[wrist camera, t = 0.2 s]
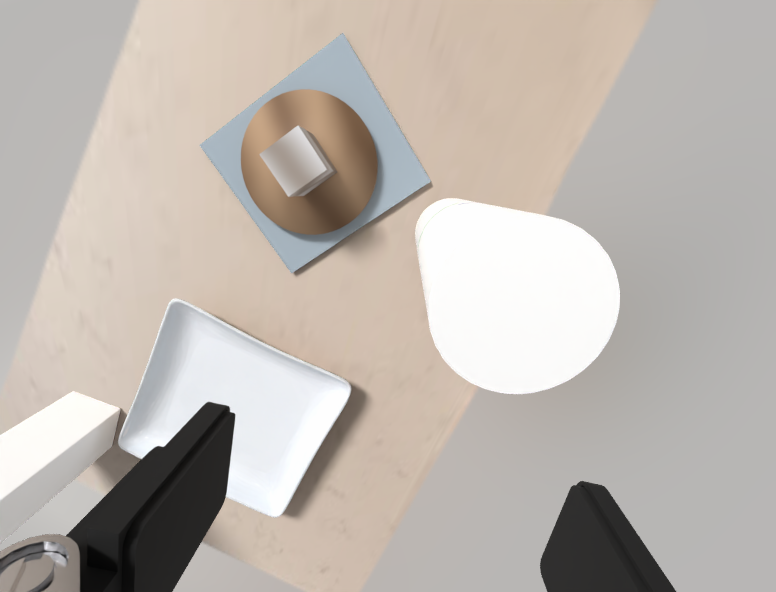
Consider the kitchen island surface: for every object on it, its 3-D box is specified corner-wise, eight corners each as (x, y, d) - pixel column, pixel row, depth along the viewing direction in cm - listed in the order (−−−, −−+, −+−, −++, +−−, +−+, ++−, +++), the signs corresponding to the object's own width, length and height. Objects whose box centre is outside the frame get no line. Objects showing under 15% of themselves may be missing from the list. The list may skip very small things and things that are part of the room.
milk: (74, 390, 46) (-216, 561, 24) (122, 408, 46) (-122, 592, 25) (66, 430, 47) (-212, 624, 26) (113, 447, 48) (-124, 652, 26)
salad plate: (287, 502, 49) (278, 524, 46) (132, 431, 47) (111, 449, 44) (360, 371, 44) (356, 386, 40) (188, 286, 42) (169, 294, 38)
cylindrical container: (485, 267, 39) (609, 391, 15) (416, 270, 40) (430, 396, 16) (486, 196, 37) (630, 209, 13) (413, 200, 38) (425, 220, 14)
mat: (343, 35, 34) (342, 32, 34) (430, 181, 37) (430, 181, 37) (202, 145, 37) (199, 145, 37) (292, 272, 40) (291, 273, 40)
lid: (326, 61, 34) (310, 35, 29) (403, 186, 37) (402, 186, 31) (218, 145, 37) (182, 137, 31) (297, 257, 39) (278, 269, 34)
